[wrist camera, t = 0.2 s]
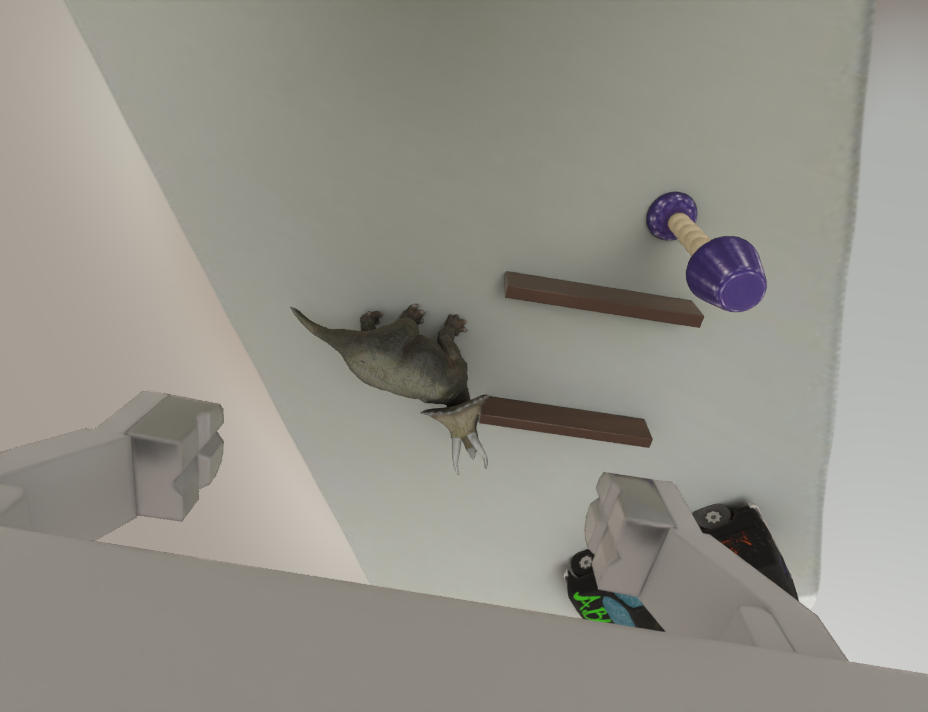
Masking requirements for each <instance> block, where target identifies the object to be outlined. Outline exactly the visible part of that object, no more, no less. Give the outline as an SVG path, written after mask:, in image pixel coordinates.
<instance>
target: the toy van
mask: <svg viewBox="0 0 928 712" xmlns="http://www.w3.org/2000/svg"><path fill="white" fill-rule="evenodd" d="M753 508H755V509H756V510H755V509H753ZM694 519H695V520H696V522H697V524H698V526H699V528H700V529H701V531H702V533H704V534H710V535H711V536H712V537H714V538H715V539H716V540H718V541H719V542H720V543H722V544H723V545H724V546H726V547H727V548H728V549H730V550H731V551H732V552H734V553H735V554H736V555H738V556H739V557H740V558H742V559H743V560H744V561H746V562H747V563H748V564H750V565H751V566H752V567H754V568H755V569H756V570H758V571H759V572H760V573H762V574H763V575H764V576H766V577H767V578H768V579H769V580H771V581H772V582H773V583H775V584H776V585H777V586H779V587H780V588H781V589H783V590H784V591H785V592H787V593H788V594H789V595H791V596H792V597H793V598H795V599H796V600H797V601H799V600H798V596H797V592H796V589H795V586H794V583H793V579H792V578H793V577H792V575H791V574H790V573H789V571H788V569H787V567H786V564H785V562H784V559H783V557H782V555H781V553H780V551H779V549H778V546H777V544H776V542H775V540H774V538H773V535H772V533H771V531H770V529H769V527H768V525H767V523H766V521H765V519H764V517H763V515H762V513H761V511H760V509H759V508H758V506H757V505H755V504H754V503H752V502H749V503H748V506H743V507H739V508H735V515H734V517H733V518H732V514H731V512H730V510H729V509H728V508H727V507H726V506H724V505H722V504H714V505H711V506H709V507H705V508H702V509H700V510H697V511H695V512H694ZM594 556H595V555H594V554H593V553H592V552H591V551H590V550H586V551H583V552H580V553H577V554H576V555H575V556H574V557H573V559H572V561H571V568H572V570H573V572H574V574H575V575H576V576H577V577H579V578H577V577H573V575H572V574H571V573H570V571H569V570H568V569H566V570H564V575H563V577H564V580H565V581H566V583H567V590H568V596H569V599H570V600H571V602H572V604H573V605H574V607H575V608H576V610H577V611H578V613H579V614H580V616H581V617H582V619H586V620H593V621H599V622H605V623H611V624H618V625H624V626H630V627H636V628H643V629H649V630H655V631H661V632H665V630H664V629H663V628H662V627H661V626H660V624H659V623H658V622H657V621H656V619H655V618H654V617H653V616H652V615H651V613H650V612H649V611H648V610H647V609H646V607H645V606H644V605H643V604H642V603H641V601H640V600H639V597H635V596H630V595H625V594H620V593H614V592H609V591H604V590H599V589H598V586H597V583H596V579H595V575H594V571H593V567H592V562H593V559H594Z"/></svg>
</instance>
